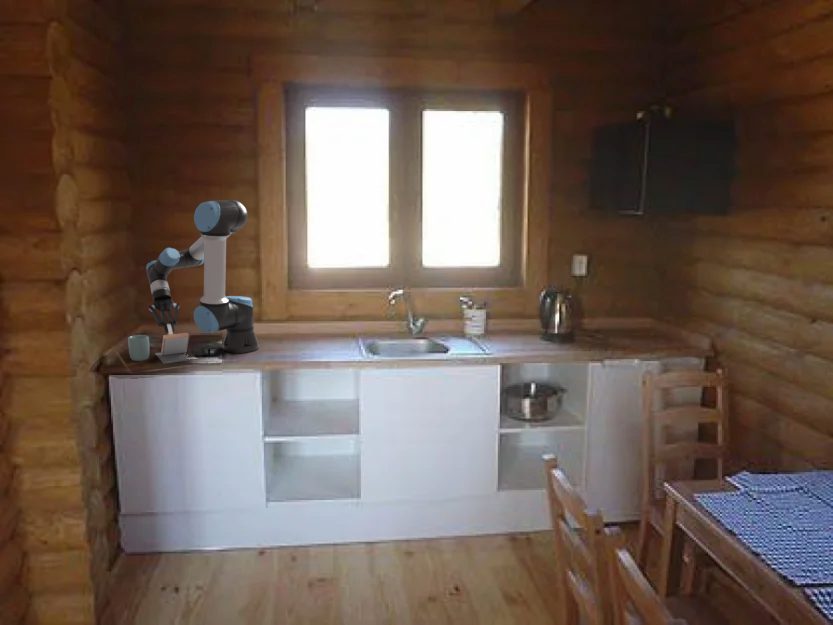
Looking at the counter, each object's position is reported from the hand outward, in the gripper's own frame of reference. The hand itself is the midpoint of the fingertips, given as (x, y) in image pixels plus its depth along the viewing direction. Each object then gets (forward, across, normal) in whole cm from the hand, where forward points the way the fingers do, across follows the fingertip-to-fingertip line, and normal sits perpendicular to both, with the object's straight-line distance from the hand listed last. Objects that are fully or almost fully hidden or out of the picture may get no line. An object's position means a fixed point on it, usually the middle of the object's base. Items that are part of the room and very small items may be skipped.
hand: (171, 338), depth 311 cm
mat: (+9, -1, -2) cm, 9 cm away
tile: (+4, -1, -4) cm, 6 cm away
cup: (+7, +13, -4) cm, 15 cm away
